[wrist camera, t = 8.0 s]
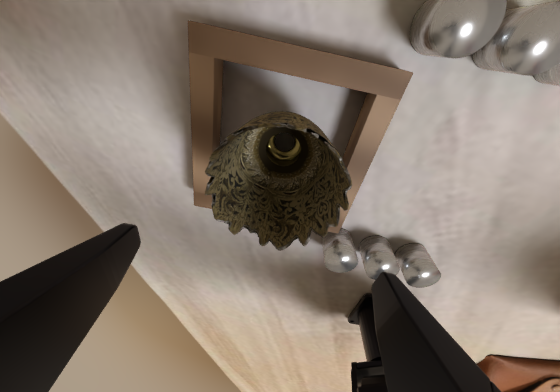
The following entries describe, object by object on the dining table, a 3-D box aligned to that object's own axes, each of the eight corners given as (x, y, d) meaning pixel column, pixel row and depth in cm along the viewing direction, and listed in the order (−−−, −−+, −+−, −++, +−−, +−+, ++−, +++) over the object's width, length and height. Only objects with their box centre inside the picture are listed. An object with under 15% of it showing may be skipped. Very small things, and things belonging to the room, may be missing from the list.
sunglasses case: (619, 362, 33) (649, 424, 30) (567, 352, 39) (587, 402, 36) (486, 354, 34) (502, 411, 32) (456, 345, 41) (468, 393, 38)
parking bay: (335, 219, 22) (338, 233, 20) (202, 192, 21) (194, 205, 20) (400, 69, 15) (413, 72, 13) (200, 23, 14) (187, 20, 12)
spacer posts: (416, 265, 25) (429, 289, 22) (318, 246, 24) (320, 269, 22) (611, 31, 13) (685, 28, 10) (427, -15, 12) (459, -30, 10)
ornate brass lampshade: (223, 152, 19) (181, 211, 12) (268, 67, 15) (243, 87, 9) (296, 195, 21) (294, 266, 14) (352, 129, 17) (385, 184, 10)
